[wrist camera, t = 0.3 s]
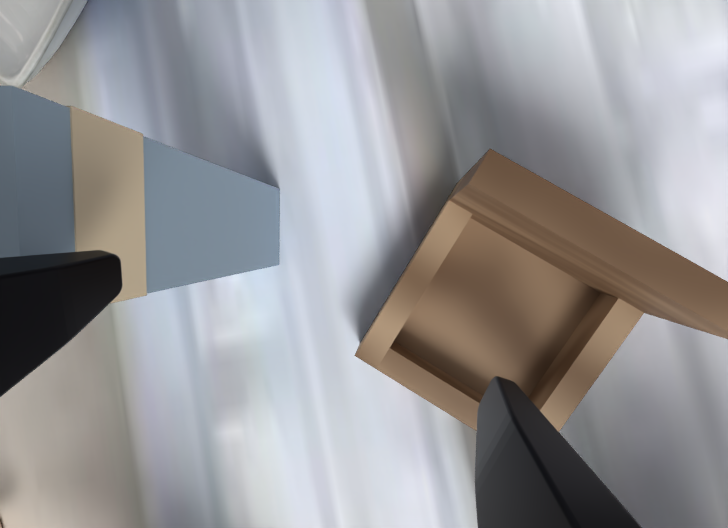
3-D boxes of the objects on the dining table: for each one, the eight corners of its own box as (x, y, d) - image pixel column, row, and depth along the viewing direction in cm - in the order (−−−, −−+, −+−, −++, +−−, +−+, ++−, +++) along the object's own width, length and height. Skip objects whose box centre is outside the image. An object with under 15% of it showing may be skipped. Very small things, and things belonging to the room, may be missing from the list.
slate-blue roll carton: (279, 265, 24) (10, 325, 8) (207, 262, 24) (-187, 313, 8) (280, 188, 23) (-3, 76, 7) (207, 187, 24) (-208, 82, 8)
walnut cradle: (520, 442, 23) (589, 566, 14) (359, 343, 23) (334, 404, 15) (636, 277, 21) (792, 304, 13) (460, 177, 22) (495, 139, 13)
